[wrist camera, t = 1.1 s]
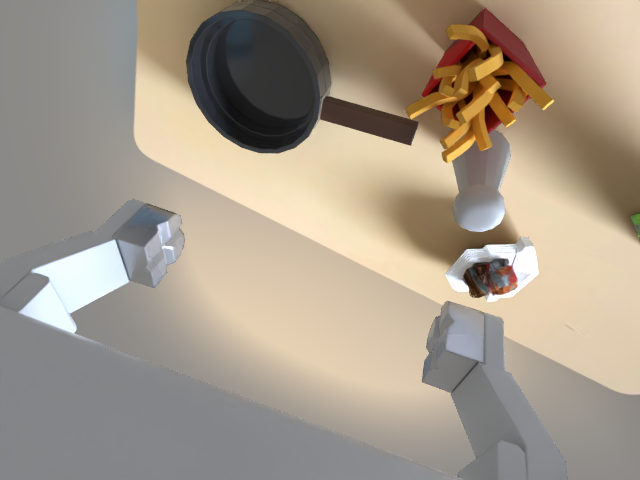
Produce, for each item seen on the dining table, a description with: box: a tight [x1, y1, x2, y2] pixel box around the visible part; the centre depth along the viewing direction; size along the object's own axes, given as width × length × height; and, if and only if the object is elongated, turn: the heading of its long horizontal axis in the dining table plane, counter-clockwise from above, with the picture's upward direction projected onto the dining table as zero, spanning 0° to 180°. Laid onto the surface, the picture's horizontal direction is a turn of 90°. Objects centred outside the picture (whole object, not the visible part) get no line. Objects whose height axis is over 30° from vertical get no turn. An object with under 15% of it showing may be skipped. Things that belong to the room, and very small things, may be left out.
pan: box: [186, 0, 331, 153], centre depth 44 cm, size 15×15×4 cm
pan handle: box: [320, 96, 419, 146], centre depth 42 cm, size 2×10×1 cm, turn 81°
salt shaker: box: [452, 130, 511, 232], centre depth 39 cm, size 6×6×13 cm
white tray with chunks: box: [445, 237, 538, 301], centre depth 52 cm, size 12×12×7 cm
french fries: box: [405, 8, 554, 163], centre depth 33 cm, size 9×8×15 cm
